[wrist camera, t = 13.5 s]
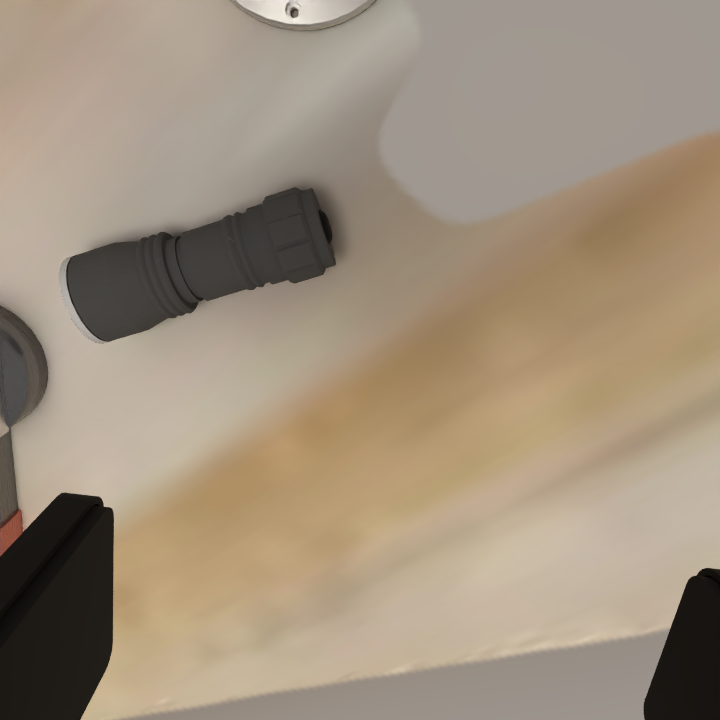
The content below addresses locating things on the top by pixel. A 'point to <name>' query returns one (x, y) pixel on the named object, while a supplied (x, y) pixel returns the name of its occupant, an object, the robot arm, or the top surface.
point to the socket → (2, 402)
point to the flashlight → (195, 266)
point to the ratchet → (17, 409)
